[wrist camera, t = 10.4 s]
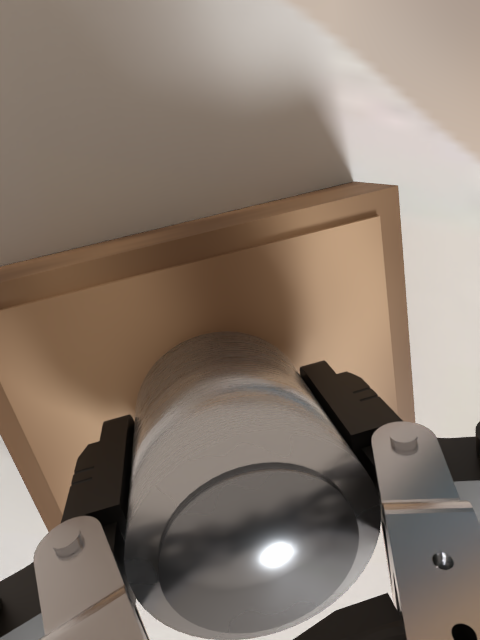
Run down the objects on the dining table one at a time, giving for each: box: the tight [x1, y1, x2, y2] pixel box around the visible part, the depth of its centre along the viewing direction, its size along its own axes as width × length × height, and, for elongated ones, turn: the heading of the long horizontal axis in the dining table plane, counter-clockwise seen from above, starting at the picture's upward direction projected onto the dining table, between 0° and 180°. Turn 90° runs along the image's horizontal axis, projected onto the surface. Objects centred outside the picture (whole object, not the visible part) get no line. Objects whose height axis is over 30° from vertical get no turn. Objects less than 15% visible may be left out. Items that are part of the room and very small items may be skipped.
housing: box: [124, 331, 381, 640], centre depth 11 cm, size 5×5×5 cm
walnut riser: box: [0, 182, 415, 532], centre depth 15 cm, size 13×10×3 cm
